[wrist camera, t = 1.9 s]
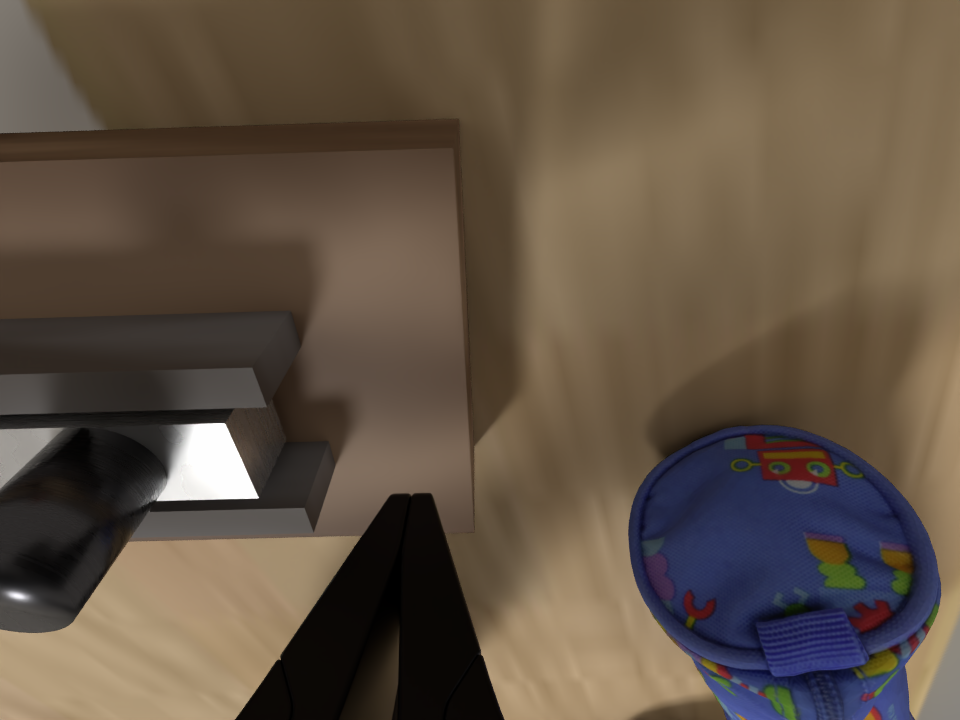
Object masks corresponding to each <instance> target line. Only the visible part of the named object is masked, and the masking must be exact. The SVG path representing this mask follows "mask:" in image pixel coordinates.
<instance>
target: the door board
mask: <svg viewBox="0 0 960 720" xmlns="http://www.w3.org/2000/svg"><path fill="white" fill-rule="evenodd" d="M271 399H272V401H273V403H274V406H275V409H276V412H277V414H278V417H279V420H280V423H281V426H282V428H283V431H284V434H285V437H286V441H285V443H284V446H283V448H282V450H281V452H280V454H279V456H278V458H277V460H276V463H275V465H274V467H273V469H272V471H271V473H270V475H269V477H268V480H267V482H266V484H265V486H264V488H263V490H262V492H261V495H260V497H259V498H252V499H214V500H176V501H156V502H155V503H154V505H153V506H152V508H151V509H150V511H149V512H148V514H147V515H146V517H145V518H144V519H143V521H142V522H141V524H140V525H139V527H138V528H137V530H136V531H135V532H134V534H133V535H132V537H131V538H130V540H129V541H128V542H130V541H169V540H208V539H247V538H285V537H324V536H362V535H363V534H364V532H365V531H366V529H367V528H368V526H369V525H370V523H371V522H372V521H373V519H374V518H375V516H376V515H377V513H378V512H379V510H380V509H381V507H382V506H383V504H384V503H385V502H386V500H387V499H388V497H389V496H390V495H391V494H394V493H409V494H411V496H412V495H413V494H414V493H431V494H432V495H433V497H434V500H435V504H436V507H437V510H438V513H439V517H440V520H441V523H442V526H443V530H444V533H474V431H473V409H472V388H471V367H470V346H469V325H468V303H467V282H466V261H465V240H464V218H463V197H462V176H461V155H460V134H459V119H443V120H411V121H380V122H348V123H316V124H285V125H253V126H221V127H189V128H158V129H126V130H94V131H66V132H65V131H63V132H35V133H34V132H32V133H1V134H0V415H10V414H46V413H82V412H118V411H155V410H191V409H227V408H263V407H267V406H268V405H269V403H270V401H271Z"/></svg>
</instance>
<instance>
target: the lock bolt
mask: <svg viewBox="0 0 960 720" xmlns="http://www.w3.org/2000/svg"><path fill="white" fill-rule="evenodd" d="M285 441H286V437H285V434H284V431H283V428H282V426H281V423H280V420H279V417H278V414H277V412H276V409H275V406H274V403H273V401H272V399H271V401H270V403H269V405H268V406H267V407H263V408H227V409H191V410H155V411H118V412H82V413H46V414H10V415H0V629H1V630H7V631H14V632H26V633H42V632H51V631H56V630H60V629H62V628H65V627H67V626H69V625H70V624H71V623H72V622H73V621H74V619H75V618H76V617H77V615H78V614H79V612H80V611H81V609H82V608H83V606H84V605H85V603H86V602H87V601H88V599H89V598H90V596H91V595H92V593H93V592H94V590H95V589H96V588H97V586H98V585H99V583H100V582H101V580H102V579H103V577H104V576H105V574H106V573H107V572H108V570H109V569H110V567H111V566H112V564H113V563H114V561H115V560H116V559H117V557H118V556H119V554H120V553H121V551H122V550H123V548H124V547H125V546H126V544H127V543H128V541H129V540H130V538H131V537H132V535H133V534H134V532H135V531H136V530H137V528H138V527H139V525H140V524H141V522H142V521H143V519H144V518H145V517H146V515H147V514H148V512H149V511H150V509H151V508H152V506H153V505H154V503H155V502H156V501H176V500H214V499H252V498H259V497H260V495H261V492H262V490H263V488H264V486H265V484H266V482H267V480H268V477H269V475H270V473H271V471H272V469H273V467H274V465H275V463H276V460H277V458H278V456H279V454H280V452H281V450H282V448H283V446H284V443H285Z"/></svg>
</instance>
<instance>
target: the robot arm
mask: <svg viewBox="0 0 960 720" xmlns="http://www.w3.org/2000/svg"><path fill="white" fill-rule="evenodd" d="M280 658H281V660H277V661H276V662H275V664H274V665H273V667H272V668H271V670H270V671H269V673H268V674H267V676H266V677H265V679H264V680H263V681H262V683H261V684H260V686H259V687H258V688H257V690H256V691H255V693H254V694H253V695H252V697H251V698H250V700H249V701H248V702H247V704H246V705H245V707H244V708H243V709H242V711H241V712H240V714H239V715H238V716H237V718H236V719H235V720H504V717H503V715H502V712H501V710H500V707H499V704H498V701H497V698H496V695H495V692H494V690H493V687H492V684H491V681H490V678H489V675H488V671H487V668H486V665H485V662H484V658H483V656H482V655H481V649H480V646H479V643H478V640H477V636H476V633H475V630H474V627H473V623H472V620H471V617H470V614H469V611H468V607H467V604H466V601H465V598H464V594H463V591H462V588H461V585H460V581H459V578H458V575H457V572H456V568H455V565H454V562H453V559H452V555H451V552H450V549H449V546H448V543H447V539H446V536H445V533H444V530H443V526H442V523H441V520H440V517H439V513H438V510H437V507H436V504H435V500H434V497H433V495H432V494H431V493H414V494H413V495H412V496H411V494H409V493H394V494H391V495H390V496H389V497H388V499H387V500H386V502H385V503H384V504H383V506H382V507H381V509H380V510H379V512H378V513H377V515H376V516H375V518H374V519H373V521H372V522H371V523H370V525H369V526H368V528H367V529H366V531H365V532H364V534H363V535H362V537H361V538H360V540H359V541H358V543H357V544H356V545H355V547H354V548H353V550H352V551H351V553H350V554H349V556H348V557H347V559H346V560H345V562H344V563H343V565H342V566H341V567H340V569H339V570H338V572H337V573H336V575H335V576H334V578H333V579H332V581H331V582H330V584H329V585H328V586H327V588H326V589H325V591H324V592H323V594H322V595H321V597H320V598H319V600H318V601H317V603H316V604H315V606H314V607H313V608H312V610H311V611H310V613H309V614H308V616H307V617H306V619H305V620H304V622H303V623H302V625H301V626H300V627H299V629H298V630H297V632H296V633H295V635H294V636H293V638H292V639H291V641H290V642H289V644H288V645H287V647H286V648H285V649H284V651H283V652H282V654H281V656H280Z"/></svg>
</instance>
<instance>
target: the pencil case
mask: <svg viewBox="0 0 960 720" xmlns="http://www.w3.org/2000/svg"><path fill="white" fill-rule="evenodd" d="M628 536H629V550H630V558H631V564H632V569H633V574H634V577H635V580H636V584H637V586H638V588H639V591H640V593H641V595H642V597H643V599H644V601H645V603H646V605H647V606H648V608H649V610H650V611H651V613H652V615H653V617H654V618H655V620H656V621H657V622H658V624H659V625H660V626H661V628H662V629H663V630H664V632H665V633H666V634H667V635H668V636H669V638H670V639H671V640H672V641H673V642H674V643H675V644H676V645H677V646H678V647H680V648H681V649H682V650H683V651H684V652H685V653H686V654H688V655H689V656H691V657H692V659H693V661H694V663H695V665H696V668H697V670H698V671H699V673H700V674H701V676H702V677H703V679H704V681H705V682H706V684H707V685H708V686H709V688H710V689H711V690H712V692H713V694H714V695H715V697H716V698H717V700H718V701H719V703H720V704H721V706H722V707H723V709H724V713H725V716H726V718H727V720H915V719H914V718H913V716H912V714H911V712H910V711H909V692H908V683H907V674H906V669H905V664H906V663H907V662H908V660H909V659H910V658H911V656H912V655H913V654H914V652H915V651H916V650H917V648H918V647H919V646H920V644H921V643H922V641H923V640H924V639H925V637H926V635H927V633H928V631H929V630H930V628H931V626H932V624H933V622H934V620H935V618H936V615H937V613H938V609H939V604H940V598H941V582H940V577H939V573H938V567H937V561H936V556H935V552H934V550H933V547H932V544H931V541H930V538H929V536H928V533H927V531H926V530H925V528H924V526H923V524H922V522H921V521H920V519H919V517H918V516H917V514H916V512H915V511H914V509H913V508H912V507H911V505H910V504H909V503H908V501H907V500H906V499H905V498H904V497H903V495H902V494H901V493H900V492H899V491H898V490H897V489H896V488H895V487H894V485H893V484H892V483H891V482H889V481H888V480H887V479H886V478H885V477H884V476H883V475H882V474H881V473H879V472H878V471H877V470H876V469H875V468H874V467H872V466H871V465H870V464H868V463H867V462H866V461H864V460H863V459H862V458H860V457H859V456H857V455H856V454H854V453H853V452H851V451H849V450H848V449H846V448H844V447H842V446H840V445H838V444H836V443H834V442H832V441H830V440H828V439H826V438H823V437H821V436H818V435H815V434H813V433H810V432H807V431H803V430H800V429H796V428H791V427H785V426H778V425H756V426H737V427H731V428H726V429H722V430H719V431H717V432H715V433H713V434H710V435H708V436H705V437H702V438H700V439H698V440H696V441H694V442H692V443H691V444H689V445H688V446H686V447H684V448H682V449H680V450H678V451H677V452H675V453H673V454H671V455H670V456H668V457H667V458H665V459H664V460H663V461H661V462H660V463H659V464H658V465H657V466H656V467H654V468H653V470H652V471H651V472H650V473H649V474H648V475H647V476H646V478H645V479H644V481H643V483H642V484H641V486H640V487H639V489H638V491H637V493H636V496H635V498H634V501H633V504H632V508H631V513H630V519H629V529H628Z"/></svg>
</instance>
